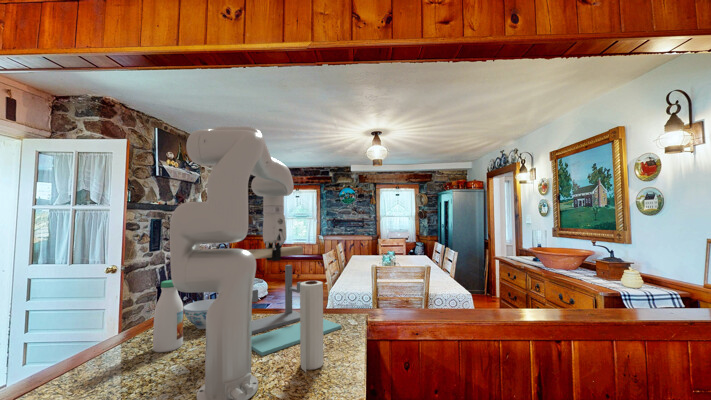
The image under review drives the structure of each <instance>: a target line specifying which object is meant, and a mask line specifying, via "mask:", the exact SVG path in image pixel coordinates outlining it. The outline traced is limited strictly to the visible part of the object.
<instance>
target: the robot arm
mask: <svg viewBox="0 0 711 400" xmlns="http://www.w3.org/2000/svg"><path fill="white" fill-rule="evenodd" d="M185 148H186V149H185V150H186V153H187V156H188V157H189V160H191V162H193V163H194V164H195V165H197V166H198V165H199V166H204V167H205V166H206V167H207V166H213V168H212V170H211V171H210V173H209V175H208V177H207V180H206V181H207V183H206V185H207V188H206V189H207V191H206V192H207V195H206V197H207V198H206V200H205V201H187V202H183V203H181V204H179V205H178V206H177V207H176V208H175V209H174V210H173V212H172V215H171V217H170V222H169V254H170V277H171V280H172V283H173V285H174V287H175V288H176V289H177V291H178V292H181V293H187V294H188V293H190V294H191V293H218V295H217V297H216V298H215V299H216V300H215V301H214V302H213V303H212V304H211V306H210V307H209V309H208V311H207V314H206V329H205V352H204V353H205V357H204V358H205V361H204V363H205V365H204V384H202V385H201V387H199V389H198V390H197V392H196V400H249V399H250V398H252V397H253V396H254V395H255V394H256V393H257V391H258V390H259V380H258V378H257V377H256V376H255V375H253V374H252V349H251V337H253V336H252V321H253V319H252V318H253V317H252V310H253V308H252V307H253V302H252V293H253V290H254V283H255V278H256V273H257V272H256V271H257V260H256V259H255V257H254V255H253V254H252V253H251V252H249V251H247V250H248V249H243V248H209V249H207V248H205V249H203V248H200V247H201V245H203V244H205V245H207V244H233V243H239V242H241V241H243V240H244V239H245V238H246V237H247V235H248V231H249V180H250V177H251V176H253V179H252V180H251V191H252V192H253V193H254V194H255V195H256V196H257V197H263V202H262V203H263V207H262V208H263V210H262V211H263V213H262V215H263V222H262V239H263V244H264V245H265V249H268V248H273V249H274V250H272V257H270V258H265V259H266V260H267V261H272V262H277V261H278V262H279V261H281V260H282V256H281V249H282V246H283V245H284V244H285V243H286V240H287V226H286V225H287V224H286V216H285V197H288V196H290V195H291V194H292V193H293V191H294V180H293V176H292V173H291V170H290V169H289V167H288V166H287V165H285V164H284V163H283V162H281V161H279V159H278V160H277V159H276V158H274V157H272V156H271V154H270V152H269V149H268V148H269V147H268V146H267V144H266V141H265V138H264V136H263V134H262V133H261V131H260V130H259V129H257V128H255V127H251V126H215V127H209V128H203V129H202V128H201V129H196V130H194V131H192V132H191V133H190V134H189V136H188V137H187V141H186V147H185Z"/></svg>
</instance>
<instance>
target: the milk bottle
mask: <svg viewBox="0 0 711 400" xmlns="http://www.w3.org/2000/svg"><path fill="white" fill-rule="evenodd" d="M160 289H161V293H160V296H159V299H158V301H157V302H156V303H155V307H154V313H153V335H152V338H153V340H152V341H153V342H152V349H153V352H155V353H168V352H172V351H174V350H177V349H179V348H181V347H182V346H183V343H184V309H183V308H184V303H183V301H182V299H181V296H180V295H179V291H178V290H177V289H176V288H175V287H174V285H173V283H172V279H167V280H163V281H161V282H160Z"/></svg>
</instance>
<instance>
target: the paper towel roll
mask: <svg viewBox="0 0 711 400" xmlns="http://www.w3.org/2000/svg"><path fill="white" fill-rule="evenodd" d="M301 282H302V283H300V293H299V307H300V308H299V313H300V321H299V323H300V343H299V344H300V347H299V351H300V353H299V354H300V357H299V358H300V362H299V363H300V368H301V370H303V371H304V372H305V373H307V370H309V371H311V370H316V369H320V368H321V367H323V365H324V334H323V319H324V288H323V287H324V284H323V283H324V282H323V281H319V280H307V281H301Z"/></svg>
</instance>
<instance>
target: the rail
mask: <svg viewBox="0 0 711 400" xmlns="http://www.w3.org/2000/svg"><path fill="white" fill-rule="evenodd" d="M246 250H247V251H249V252H251V253H252V254H253V255H254V257H255V259H257V260H258V259H266V258H270V257H272V250H274V249H273V248H268V249H266V248H255V249H246ZM298 255H304V247H303V246H283V247H282V249H281V257H289V256H298Z"/></svg>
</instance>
